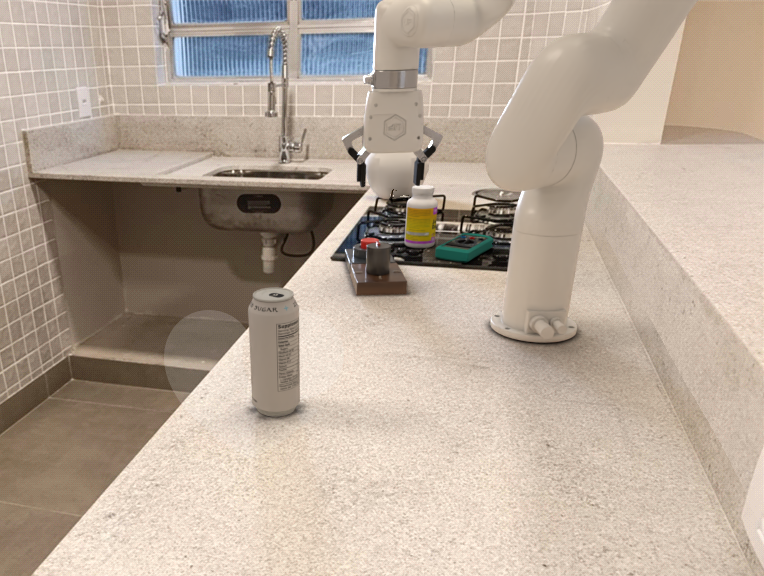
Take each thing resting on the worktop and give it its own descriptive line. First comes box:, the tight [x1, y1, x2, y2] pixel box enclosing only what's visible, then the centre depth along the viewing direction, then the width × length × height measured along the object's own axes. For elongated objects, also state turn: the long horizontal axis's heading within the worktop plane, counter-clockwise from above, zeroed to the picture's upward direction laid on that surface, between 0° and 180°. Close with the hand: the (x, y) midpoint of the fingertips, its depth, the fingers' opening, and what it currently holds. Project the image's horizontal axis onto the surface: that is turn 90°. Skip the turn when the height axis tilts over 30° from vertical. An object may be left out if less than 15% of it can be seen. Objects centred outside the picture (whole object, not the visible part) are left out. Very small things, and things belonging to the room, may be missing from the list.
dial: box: [366, 240, 392, 275], centre depth 129 cm, size 4×4×5 cm
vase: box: [365, 147, 430, 201], centre depth 200 cm, size 18×18×30 cm
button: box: [360, 237, 380, 249], centre depth 141 cm, size 4×4×2 cm
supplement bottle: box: [403, 184, 438, 249], centre depth 153 cm, size 7×7×13 cm
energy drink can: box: [247, 286, 301, 418], centre depth 84 cm, size 6×6×15 cm
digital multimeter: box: [434, 232, 494, 264], centre depth 148 cm, size 7×15×3 cm, turn 142°
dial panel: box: [349, 262, 408, 297], centre depth 130 cm, size 12×9×3 cm
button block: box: [344, 242, 397, 275], centre depth 142 cm, size 11×9×4 cm
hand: (389, 185), depth 125 cm, fingers open, 9 cm apart
